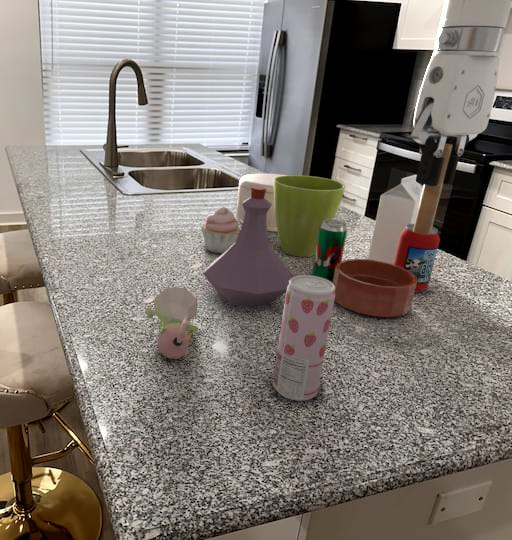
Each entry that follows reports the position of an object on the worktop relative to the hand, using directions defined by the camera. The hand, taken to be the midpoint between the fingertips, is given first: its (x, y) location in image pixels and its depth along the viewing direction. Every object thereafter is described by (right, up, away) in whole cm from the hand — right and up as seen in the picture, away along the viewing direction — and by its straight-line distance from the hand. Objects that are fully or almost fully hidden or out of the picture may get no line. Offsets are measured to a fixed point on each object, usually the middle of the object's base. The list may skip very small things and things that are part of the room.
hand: (433, 182), depth 74 cm
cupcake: (-25, -8, +42) cm, 50 cm away
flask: (-24, -18, +19) cm, 35 cm away
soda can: (-7, -15, +27) cm, 32 cm away
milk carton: (+11, -11, +38) cm, 41 cm away
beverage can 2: (+9, -16, +26) cm, 32 cm away
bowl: (-2, -19, +18) cm, 26 cm away
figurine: (-38, -23, +3) cm, 45 cm away
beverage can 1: (-22, -28, -7) cm, 37 cm away
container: (-9, 0, +64) cm, 64 cm away
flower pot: (-7, -9, +43) cm, 44 cm away
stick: (0, -7, +3) cm, 8 cm away
